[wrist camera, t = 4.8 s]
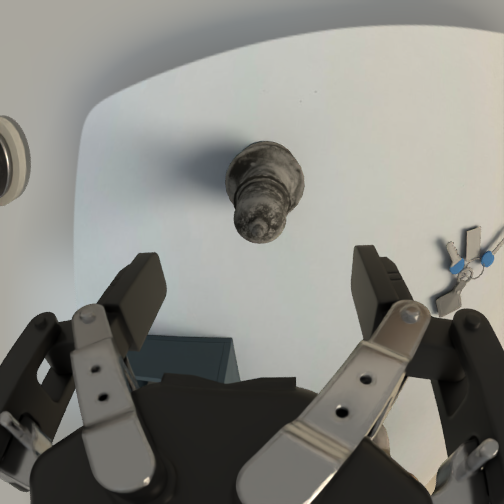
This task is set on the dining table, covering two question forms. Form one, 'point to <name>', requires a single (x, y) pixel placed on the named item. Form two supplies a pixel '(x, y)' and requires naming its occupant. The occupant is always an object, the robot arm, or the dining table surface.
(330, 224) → the dining table surface
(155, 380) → the crate
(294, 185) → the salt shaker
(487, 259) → the key chain
